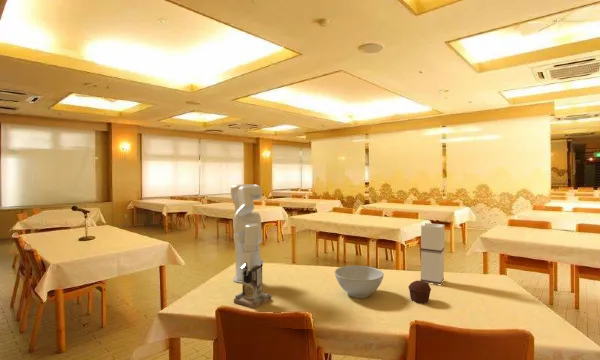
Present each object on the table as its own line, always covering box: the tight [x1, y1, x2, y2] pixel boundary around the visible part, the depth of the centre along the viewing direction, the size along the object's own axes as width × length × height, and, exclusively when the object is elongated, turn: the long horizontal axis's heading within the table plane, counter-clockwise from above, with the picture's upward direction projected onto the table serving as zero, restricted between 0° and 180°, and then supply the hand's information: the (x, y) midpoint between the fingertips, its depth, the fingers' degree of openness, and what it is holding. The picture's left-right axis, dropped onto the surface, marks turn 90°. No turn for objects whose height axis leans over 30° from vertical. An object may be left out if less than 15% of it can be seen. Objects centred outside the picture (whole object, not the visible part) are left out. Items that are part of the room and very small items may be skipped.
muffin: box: [408, 280, 432, 304], centre depth 178 cm, size 12×11×10 cm
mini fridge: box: [420, 222, 445, 284], centre depth 206 cm, size 11×11×35 cm
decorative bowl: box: [334, 264, 384, 299], centre depth 188 cm, size 27×27×12 cm
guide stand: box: [233, 291, 272, 309], centre depth 178 cm, size 14×14×4 cm
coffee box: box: [241, 266, 264, 300], centre depth 178 cm, size 9×6×16 cm
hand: (252, 279), depth 178 cm, fingers open, 9 cm apart
